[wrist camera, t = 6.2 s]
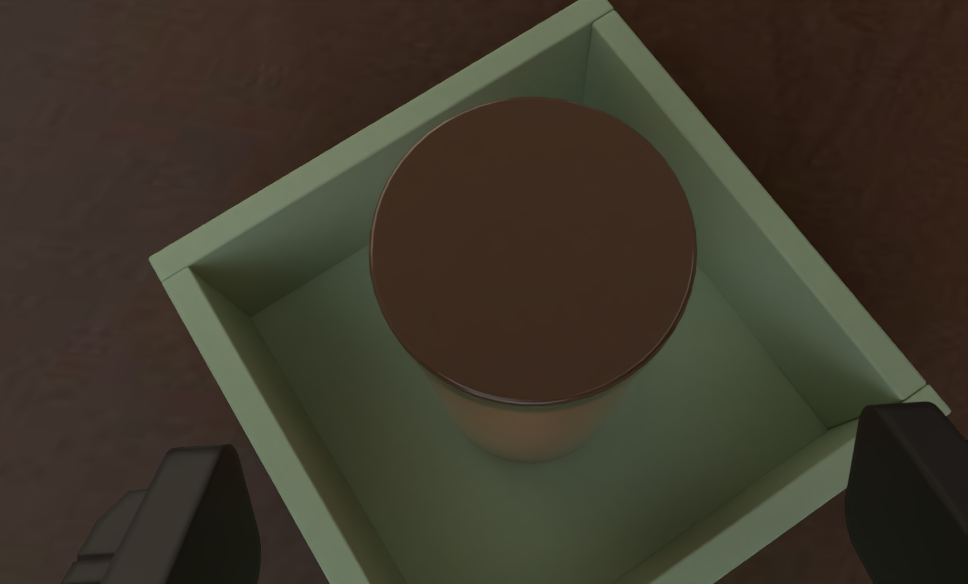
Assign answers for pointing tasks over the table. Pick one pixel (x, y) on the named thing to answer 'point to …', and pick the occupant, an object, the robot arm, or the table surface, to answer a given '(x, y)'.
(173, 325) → the table surface
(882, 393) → the crate
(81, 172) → the table surface
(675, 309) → the spice jar
